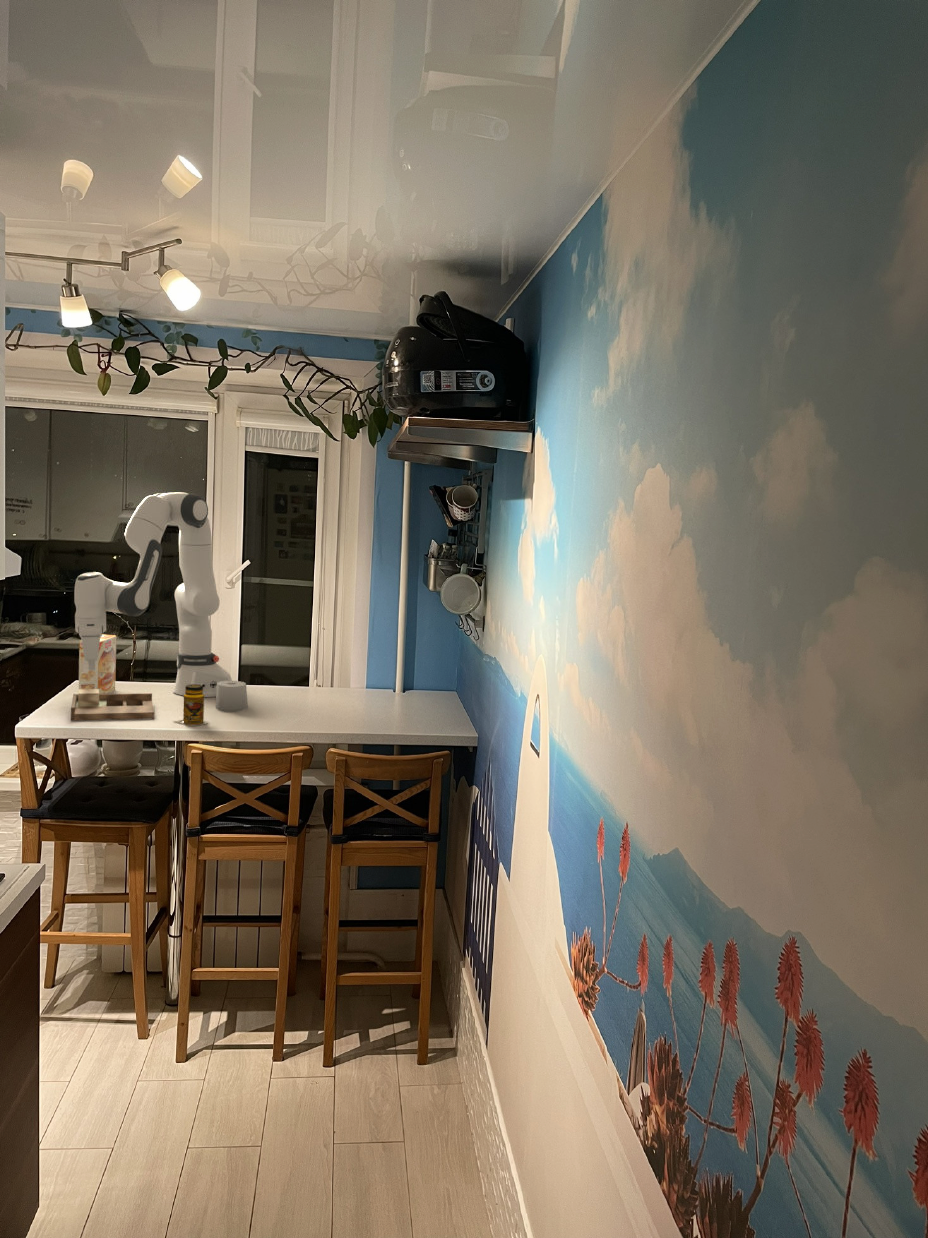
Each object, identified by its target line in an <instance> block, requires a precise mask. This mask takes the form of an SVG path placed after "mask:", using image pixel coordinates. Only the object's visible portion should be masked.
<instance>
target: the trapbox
mask: <svg viewBox="0 0 928 1238" xmlns="http://www.w3.org/2000/svg"><path fill="white" fill-rule="evenodd" d="M154 711H155V710H154V705H153V693H152V692H146V693H145V692H143V693H142V692H141V693H140V692H138V693H137V692H136V693H134V692H133V693H130V692H129V693H126V692H125V693H108V694H99V706H78V693H74V694H73V695H72V699H71V706H70V721H100V720H101V721H103V720H102V719H111V720H138V719H139V720H140V719H141V720H142V719H143V718H153V719H155V712H154ZM143 720H144V719H143Z"/></svg>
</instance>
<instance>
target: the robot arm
mask: <svg viewBox="0 0 928 1238" xmlns="http://www.w3.org/2000/svg"><path fill="white" fill-rule="evenodd" d="M208 515H209V506H208V504H207V502H206V500H205V498H204V497H203V496H201V495H199V494H195V493H187V492H179V491H178V492H167V493H166V492H159V493H155V494H153V495H148V496H146V497H145V498H143V499H142V501H141V502H140V503H139V505H138V506H137V507H136V509H135V510H134V512H133V514H132V516H131V518H130V520H129V521H128V523H127V525H126V528H125V532H124V537H125V542H126V543H127V545H128V546H129V547H130V548H131V549H132V550H133V551H134V552H136V553H137V554H139V557H140V558H139V562H138V566H137V569H136V571H135V575H134V578H133V579H132V581H130V582H120V581H114V580H112V579H109V578H107V577H106V576H104V575H103V573H101V572H96V571H93V572H92V571H91V572H83V573H82V574H80V575H78V576H77V578H76V579H75V584H74V605H75V609H76V610H75V614H74V623H75V626H74V627H75V629H74V630H75V633H78V635H79V638H80V639H81V640H82V646H83V653H84V658H85V661H88V664H89V670H90V671H92V670H95V661H97V660H98V654H99V644H100V638H101V636H102V635H104V632H107V612H109V613H110V612H112V613H116V614H123V615H126V616H130V617H139V616H141V615H143V613H145V612H146V610H147V609H148V607H149V605H150V602H151V601H150V600H151V595H152V594H151V593H152V588H153V585H154V583H155V579H156V576H157V573H158V570H159V566H160V563H161V560H162V554H163V547H162V545H161V541H162V538H163V535H164V533H165V531H166V528H167V526H168V525H169V526H176V527H178V529H179V533H178V552H179V554H178V555H179V556H178V559H179V562H178V563H179V568H180V572H181V575H182V576H181V577H182V580H183V582H182V583H181V584H178V586H177V587H176V589H175V590H174V600H175V606H176V614H177V615H176V616H177V622H178V632H179V633H178V639H179V640H178V647H179V648H178V652H177V657H176V667H177V674H176V679H175V683H174V687H173V690H172V692H173V693H174V694H176V695H180V696H184V694H185V689H186V688H185V687H186V686H187V685H190V684H198V685H202V686H203V694H204V698H209V697H210V698H212V697H213V698H214V697H216V691H217V683H218V682H221V681H233V678H232V676H231V674H230V673H229V672H228V671H226V669H224V668H223V667H222V666H221V665H220V664H218V662H219V661H220V658H219V656H218V655H217V654H215V653H213V652H212V644H213V643H212V640H213V639H212V638H213V637H212V636H213V633H212V627H211V624H210V618H209V617H210V616H213V615H214V614H215V613H216V612H217V611H218V610H219V608H220V605H221V604H220V603H221V602H220V597H219V594H218V591H217V584H216V579H215V574H214V567H213V541H212V540H213V538H212V530H211V524H210V520H209V518H208Z"/></svg>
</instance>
